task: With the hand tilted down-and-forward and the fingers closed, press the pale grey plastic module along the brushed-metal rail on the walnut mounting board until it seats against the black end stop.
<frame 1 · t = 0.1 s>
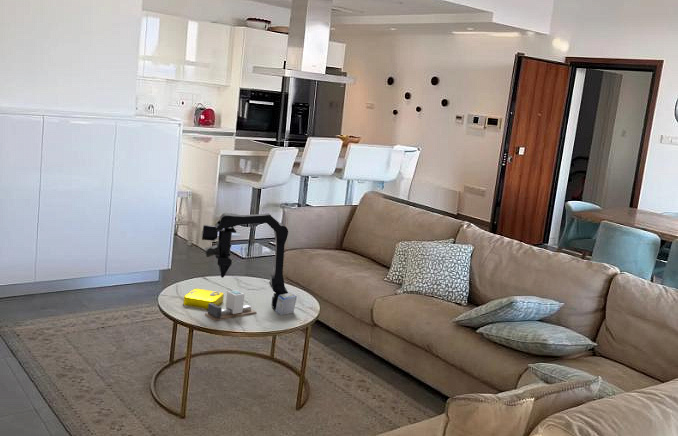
hand: (221, 274, 313), 15 cm above the table, tool pointing down, fingers open, 9 cm apart
mounting board: (228, 314, 304), on the table
module: (234, 301, 305), point 6 cm above the table, slide at 0.0 cm
rail: (231, 307, 305), on the mounting board, point 3 cm above the table
element tile: (203, 304, 317), on the table
medicine box: (284, 313, 317), on the table, touching arm
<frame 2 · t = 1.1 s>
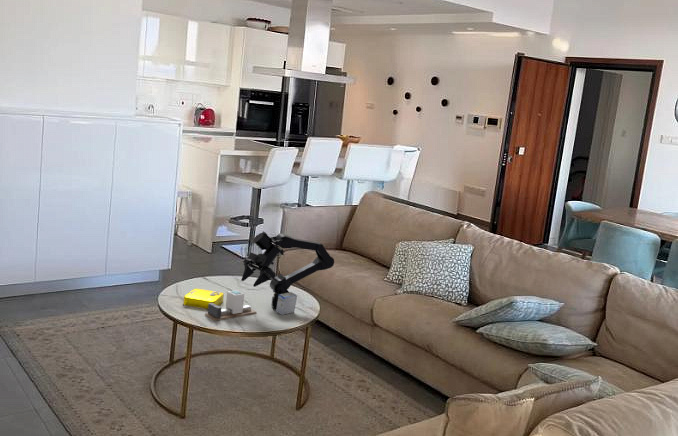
hand: (247, 283, 309), 13 cm above the table, tool tilted 40°, fingers open, 9 cm apart
nothing on the table moved.
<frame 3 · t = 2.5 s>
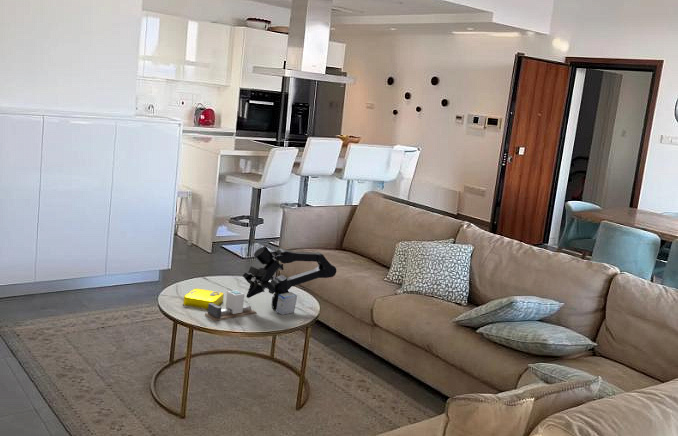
hand: (247, 297, 310), 7 cm above the table, tool tilted 45°, fingers closed
medicine box: (285, 312, 317), on the table
everything else where it was.
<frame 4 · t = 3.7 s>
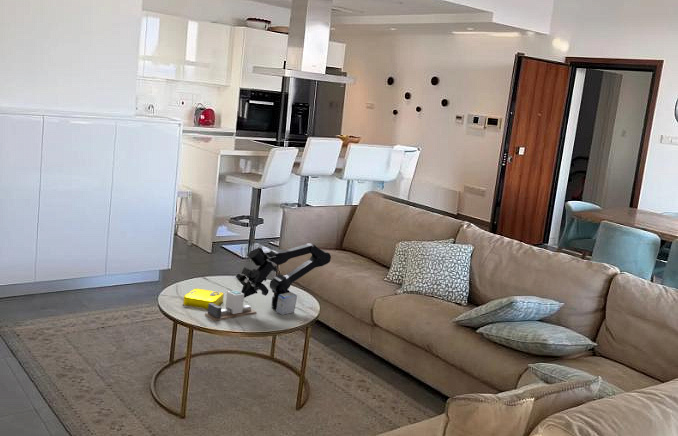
hand: (239, 298, 307), 7 cm above the table, tool tilted 45°, fingers closed, pressing on module
module: (234, 301, 305), point 6 cm above the table, slide at 0.1 cm, touching gripper
medicine box: (285, 312, 317), on the table, touching arm
everything else where it was.
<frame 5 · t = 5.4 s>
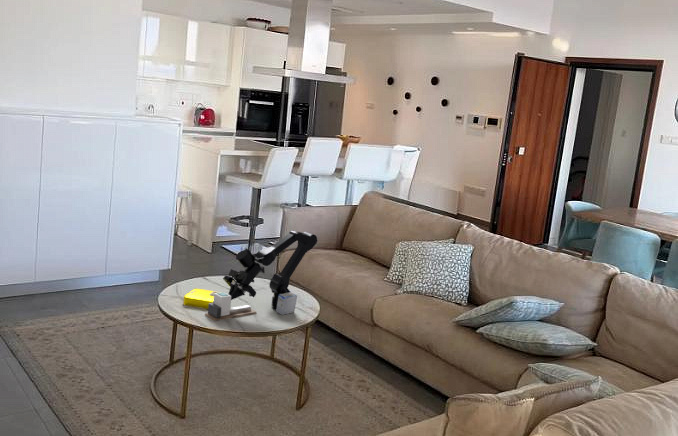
hand: (227, 300, 302), 7 cm above the table, tool tilted 45°, fingers closed, pressing on module
module: (221, 303, 301), point 6 cm above the table, slide at 7.0 cm, touching gripper, rail
medicine box: (285, 312, 317), on the table
everything else where it was.
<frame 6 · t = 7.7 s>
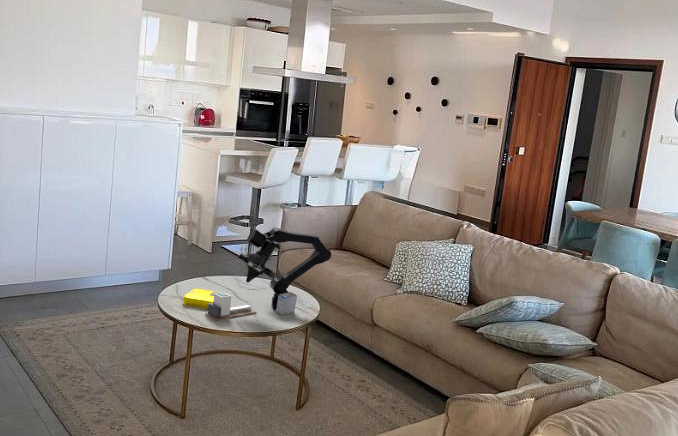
hand: (246, 282, 312), 13 cm above the table, tool tilted 30°, fingers closed
module: (221, 303, 301), point 6 cm above the table, slide at 7.0 cm, touching rail
medicine box: (285, 312, 317), on the table, touching arm
everything else where it was.
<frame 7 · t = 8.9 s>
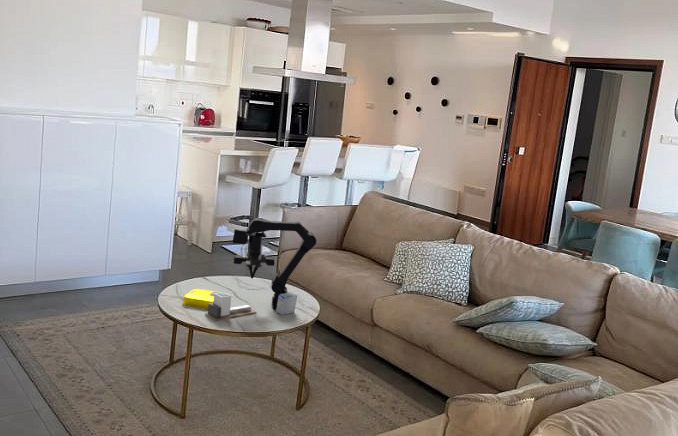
hand: (251, 278, 319), 13 cm above the table, tool pointing down, fingers closed
nothing on the table moved.
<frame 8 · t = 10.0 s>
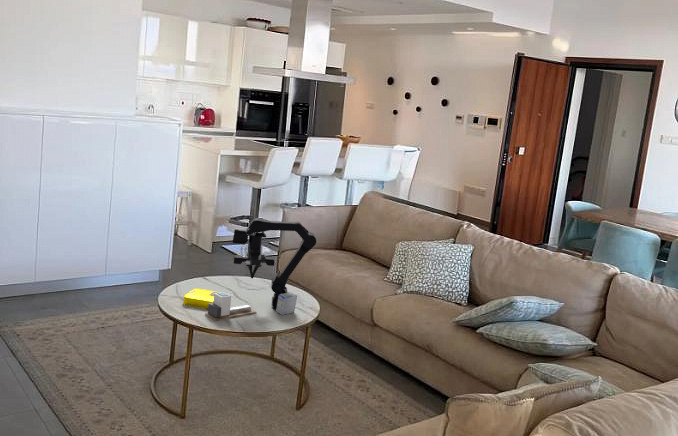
hand: (251, 278, 319), 13 cm above the table, tool pointing down, fingers closed
medicine box: (285, 312, 317), on the table
everything else where it was.
at the end: module slide at 7.0 cm; module 0.1 cm from the target spot, resting on mounting board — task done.
